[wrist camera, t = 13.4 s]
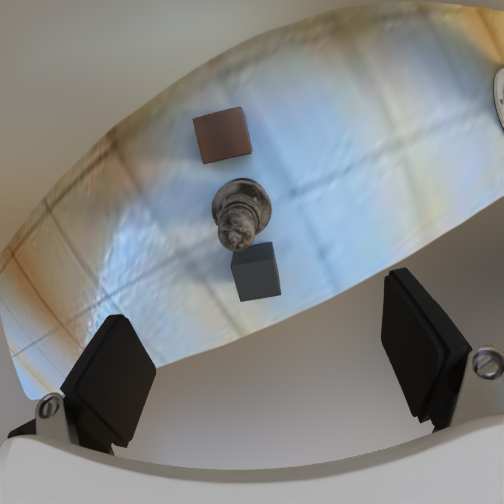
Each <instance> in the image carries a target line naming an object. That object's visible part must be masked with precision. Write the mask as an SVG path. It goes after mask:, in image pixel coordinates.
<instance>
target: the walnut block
mask: <svg viewBox="0 0 504 504" xmlns="http://www.w3.org/2000/svg"><path fill="white" fill-rule="evenodd" d="M193 124H194V128H195V132H196V136H197V140H198V144H199V148H200V152H201V156H202V160H203V164H208V163H212V162H216V161H220V160H224V159H229V158H233V157H237V156H242V155H247V154H251V153H252V146H251V142H250V137H249V133H248V128H247V124H246V120H245V116H244V112H243V110H242V108H241V107H236V108H232V109H228V110H224V111H220V112H216V113H212V114H208V115H204V116H201V117H197V118H194V119H193Z"/></svg>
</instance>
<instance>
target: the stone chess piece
mask: <svg viewBox="0 0 504 504" xmlns="http://www.w3.org/2000/svg"><path fill="white" fill-rule="evenodd" d="M271 212H272V208H271V202H270V199H269V197H268V195H267V194H266V192H265V190H264V189H263V187H262V186H261V185H260V184H259V183H257V182H256V181H254V180H251V179H247V178H239V179H235V180H233V181H231V182H229V183H228V184H226V185H225V186H223V187H222V188H221V189H220V190H219V191H218V192H217V194H216V195H215V197H214V200H213V202H212V215H213V219H214V221H215V223H216V225H217V226H218V237H219V240H220V242H221V244H222V245H223V246H224V247H225V248H227V249H229V250H231V251H242V250H245V249H246V248H248V247H249V246H250V245H251V243H252V242H253V240H254V236H255V235H257V234H258V233H260V232H261V231H262V230H263V229H264V228H265V227H266V226H267V224H268V222H269V220H270V218H271Z"/></svg>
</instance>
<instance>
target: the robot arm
mask: <svg viewBox="0 0 504 504" xmlns="http://www.w3.org/2000/svg"><path fill="white" fill-rule="evenodd" d="M494 98H495V104H496V109H497V112H498V116H499V119H500V121H501V124H502V126H503V128H504V68H502V69H500V70H499V71H498V72H497V74H496V76H495V80H494ZM381 341H382V345H383V347H384V349H385V351H386V353H387V356H388V358H389V360H390V363H391V365H392V367H393V369H394V372H395V374H396V376H397V379H398V381H399V384H400V386H401V388H402V391H403V393H404V396H405V398H406V401H407V403H408V406H409V409H410V411H411V414H412V415H413V417H416V416H418V419H419V422H420V423H422V422H425V421H428V420H430V419H431V421H432V424H433V425H434V426H435V427H434V430H433V432H432V434H429V435H426V436H423V437H420V438H417V439H415V440H412V441H409V442H406V443H403V444H400V445H397V446H394V447H390V448H387V449H383V450H379V451H375V452H372V453H367V454H363V455H359V456H355V457H351V458H346V459H341V460H336V461H331V462H325V463H319V464H312V465H305V466H297V467H287V468H276V469H257V470H213V469H197V468H185V467H175V466H167V465H160V464H154V463H148V462H142V461H137V460H132V459H126V458H122V457H118V456H115V455H114V452H113V450H112V447H111V444H112V443H113V444H115V445H116V446H120V447H125V448H127V446H128V443H129V441H131V440H132V438H133V435H134V433H135V430H136V427H137V424H138V421H139V418H140V416H141V413H142V410H143V407H144V405H145V402H146V399H147V396H148V394H149V391H150V388H151V386H152V383H153V380H154V378H155V375H156V367H155V365H154V363H153V362H152V360H151V358H150V357H149V355H148V353H147V352H146V350H145V348H144V347H143V345H142V343H141V341H140V339H139V338H138V336H137V334H136V332H135V330H134V329H133V327H132V325H131V323H130V321H129V319H128V318H126V317H125V316H124V315H122V314H117V315H109V316H108V317H107V318H106V319H105V321H104V322H103V324H102V325H101V326H100V328H99V329H98V331H97V332H96V334H95V335H94V336H93V338H92V339H91V341H90V342H89V344H88V345H87V347H86V348H85V350H84V351H83V353H82V354H81V356H80V357H79V359H78V360H77V362H76V364H75V365H74V367H73V368H72V370H71V371H70V373H69V375H68V376H67V378H66V379H65V381H64V383H63V384H62V386H61V388H60V390H61V391H62V392H63V393H64V394H65V395H66V396H65V397H64V398H63V397H62V396H61V395H60V394H59V393H50V394H47V395H46V396H44V397H43V398H42V399H41V400H40V401H39V403H38V404H37V407H36V411H35V419H33V420H32V421H30V422H27V423H26V424H24V425H22V426H20V427H18V428H16V429H15V430H13V431H11V432H10V433H9V435H8V439H7V440H6V441H5V442H4V443H3V444H2V446H1V447H0V504H504V352H503V351H502V350H500V349H499V348H497V347H495V346H492V345H482V346H478V347H476V348H475V349H472V348H471V346H470V345H469V343H468V342H467V341H466V339H465V338H464V336H463V335H462V334H461V332H460V331H459V330H458V328H457V327H456V326H455V324H454V323H453V322H452V320H451V319H450V318H449V317H448V315H447V314H446V313H445V312H444V310H443V309H442V308H441V307H440V305H439V304H438V303H437V302H436V301H435V300H434V299H433V298H432V297H431V296H430V295H429V293H428V292H427V291H426V290H425V289H424V287H423V286H422V285H421V284H420V283H419V282H418V280H417V279H416V278H415V277H414V276H413V275H412V274H411V273H410V271H409V270H408V269H407V268H400V269H396V270H392V271H390V272H389V275H388V276H386V277H385V280H384V303H383V317H382V329H381Z"/></svg>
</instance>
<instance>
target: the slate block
mask: <svg viewBox="0 0 504 504" xmlns="http://www.w3.org/2000/svg"><path fill="white" fill-rule="evenodd" d="M231 270H232V274H233V277H234V281H235V284H236V288H237V291H238V295H239V298H240V301H241V302H243V301H249V300H255V299H261V298H267V297H272V296H278V295H281V290H280V282H279V274H278V269H277V264H276V259H275V254H274V249H273V244H272V242H268V243H263V244H258V245H252V246H249V247H248V248H246V249H245V250H242V251H234V252H233V257H232V262H231Z"/></svg>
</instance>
